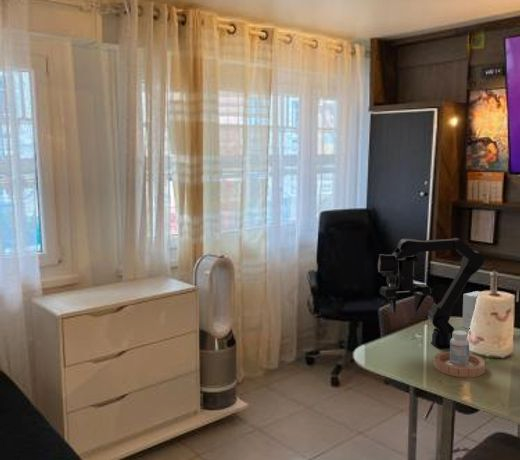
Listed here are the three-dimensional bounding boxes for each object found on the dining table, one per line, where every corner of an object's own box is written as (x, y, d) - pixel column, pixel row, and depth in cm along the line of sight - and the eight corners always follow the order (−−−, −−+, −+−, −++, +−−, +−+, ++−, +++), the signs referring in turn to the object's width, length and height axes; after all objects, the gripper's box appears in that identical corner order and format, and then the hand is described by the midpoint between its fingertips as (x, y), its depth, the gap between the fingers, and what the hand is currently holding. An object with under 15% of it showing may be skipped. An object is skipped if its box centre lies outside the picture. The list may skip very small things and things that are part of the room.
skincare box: (475, 324, 229) (477, 290, 227) (487, 328, 224) (488, 293, 222) (461, 327, 226) (462, 293, 224) (472, 331, 220) (473, 296, 218)
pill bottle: (457, 359, 187) (458, 328, 186) (472, 365, 182) (473, 333, 181) (445, 363, 184) (446, 331, 183) (460, 369, 179) (461, 336, 177)
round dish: (466, 357, 192) (467, 349, 192) (494, 374, 177) (494, 366, 177) (426, 361, 189) (426, 353, 189) (450, 379, 174) (451, 371, 173)
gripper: (417, 266, 211) (416, 305, 214) (373, 269, 207) (372, 308, 209) (432, 272, 201) (431, 312, 203) (386, 275, 197) (385, 316, 199)
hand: (404, 312), depth 204 cm, fingers open, 9 cm apart
